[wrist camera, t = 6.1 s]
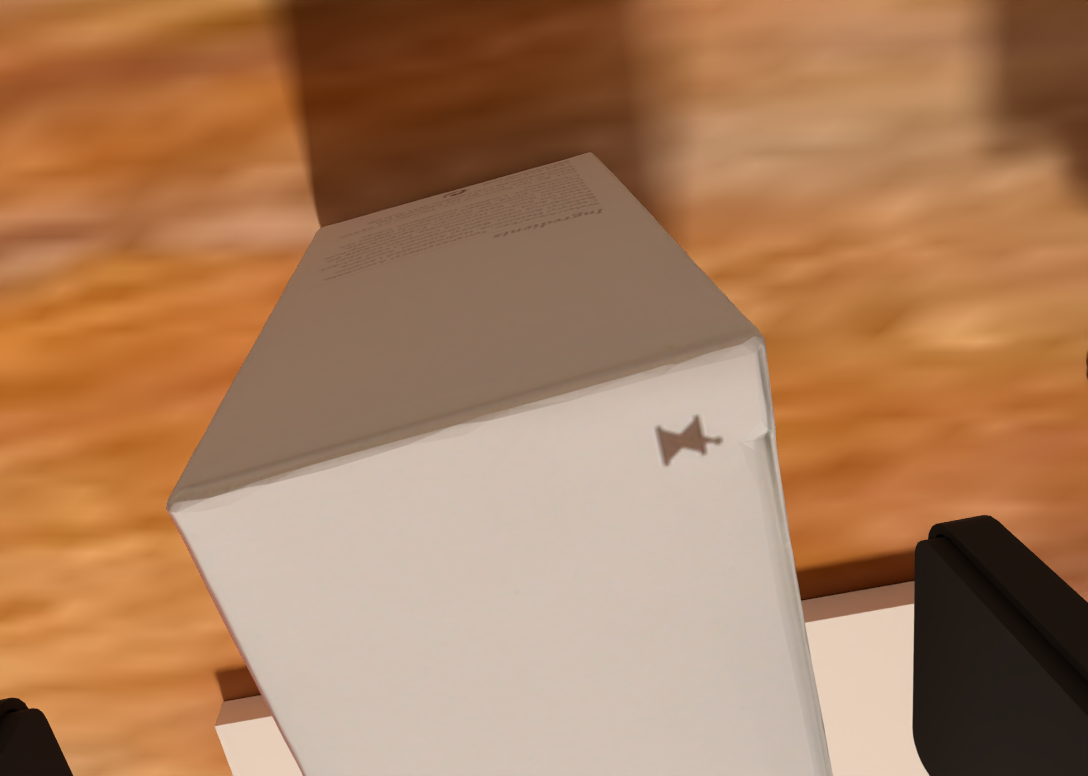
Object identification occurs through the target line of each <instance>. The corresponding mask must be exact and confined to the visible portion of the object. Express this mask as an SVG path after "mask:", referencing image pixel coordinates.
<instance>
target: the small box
mask: <svg viewBox="0 0 1088 776" xmlns="http://www.w3.org/2000/svg"><path fill="white" fill-rule="evenodd" d="M166 509H167V511H168V513H169V515H170V516H171V518H172V520H173V522H174V524H175V526H176V528H177V529H178V531H179V533H180V535H181V537H182V539H183V541H184V543H185V544H186V546H187V548H188V550H189V553H190V555H191V557H192V559H193V561H194V563H195V565H196V567H197V569H198V571H199V573H200V575H201V577H202V579H203V581H204V583H205V585H206V587H207V589H208V591H209V593H210V595H211V597H212V599H213V601H214V603H215V605H216V607H217V609H218V611H219V613H220V615H221V617H222V619H223V621H224V623H225V625H226V627H227V629H228V631H229V633H230V635H231V637H232V639H233V641H234V643H235V645H236V647H237V648H238V650H239V652H240V654H241V656H242V658H243V660H244V662H245V664H246V666H247V668H248V670H249V672H250V674H251V676H252V678H253V680H254V682H255V684H256V685H257V687H258V689H259V691H260V693H261V695H262V697H263V699H264V701H265V703H266V705H267V707H268V709H269V711H270V713H271V715H272V717H273V719H274V721H275V723H276V725H277V727H278V729H279V731H280V733H281V735H282V737H283V739H284V740H285V742H286V744H287V746H288V748H289V750H290V752H291V754H292V755H293V757H294V759H295V761H296V763H297V765H298V767H299V769H300V771H301V773H302V775H303V776H833V773H832V768H831V762H830V757H829V752H828V746H827V740H826V734H825V729H824V723H823V718H822V713H821V707H820V702H819V697H818V692H817V687H816V681H815V676H814V671H813V666H812V660H811V655H810V649H809V643H808V637H807V631H806V626H805V621H804V615H803V609H802V603H801V597H800V591H799V585H798V579H797V574H796V568H795V562H794V556H793V551H792V545H791V540H790V534H789V527H788V520H787V513H786V507H785V500H784V493H783V487H782V481H781V475H780V469H779V461H778V453H777V444H776V432H775V420H774V412H773V404H772V396H771V388H770V380H769V372H768V363H767V355H766V345H765V338H764V337H763V336H762V334H761V333H760V332H759V330H758V329H757V328H756V327H755V326H754V325H753V324H752V323H751V322H750V321H749V320H748V319H747V318H746V317H745V316H744V315H743V314H742V313H741V312H740V311H739V310H738V309H737V308H736V306H735V305H734V304H733V303H732V302H731V301H730V300H729V299H728V297H727V296H726V295H725V294H724V293H723V292H722V291H721V290H720V289H719V288H718V287H717V286H716V285H715V284H714V283H713V282H712V281H711V279H710V278H709V277H708V276H707V275H706V274H705V273H704V272H703V271H702V270H701V269H700V268H699V267H698V266H697V265H696V264H695V263H694V261H693V260H692V259H691V258H690V257H689V256H688V254H687V253H686V252H685V251H684V250H683V249H682V248H681V247H680V246H679V245H678V243H677V242H676V241H675V240H674V239H673V238H672V237H671V236H670V235H669V234H668V233H667V231H666V230H665V229H664V228H663V227H662V226H661V225H660V224H659V223H658V221H657V220H656V219H655V218H654V217H653V216H652V215H651V214H650V213H649V211H648V210H647V209H646V208H645V207H644V206H643V205H642V204H641V203H640V202H639V201H638V199H637V198H635V197H634V196H633V195H632V193H631V192H630V191H629V190H628V189H627V188H626V187H625V186H624V185H623V183H622V182H620V180H619V179H618V178H617V177H616V176H615V175H614V174H613V173H612V172H611V171H610V170H609V169H608V168H607V167H606V166H605V165H604V164H603V163H602V162H601V161H600V160H599V158H598V157H597V156H596V155H594V154H593V153H592V152H588V153H585V154H581V155H578V156H575V157H571V158H568V159H565V160H561V161H558V162H554V163H550V164H547V165H543V166H539V167H536V168H532V169H528V170H525V171H521V172H518V173H514V174H511V175H507V176H503V177H500V178H496V179H493V180H489V181H486V182H482V183H478V184H475V185H471V186H468V187H464V188H460V189H457V190H453V191H450V192H446V193H442V194H439V195H435V196H431V197H428V198H424V199H421V200H417V201H413V202H410V203H406V204H403V205H399V206H396V207H392V208H389V209H385V210H381V211H378V212H375V213H371V214H368V215H364V216H361V217H357V218H354V219H350V220H347V221H343V222H340V223H336V224H332V225H328V226H324V227H322V228H320V229H319V230H318V231H317V233H316V234H315V236H314V238H313V240H312V242H311V244H310V245H309V247H308V249H307V250H306V252H305V254H304V256H303V258H302V259H301V261H300V263H299V264H298V266H297V269H296V270H295V272H294V274H293V275H292V277H291V278H290V280H289V282H288V283H287V286H286V288H285V290H284V292H283V294H282V295H281V297H280V299H279V301H278V302H277V304H276V306H275V308H274V310H273V311H272V313H271V315H270V316H269V318H268V320H267V322H266V323H265V325H264V327H263V329H262V331H261V333H260V335H259V336H258V338H257V340H256V342H255V344H254V346H253V347H252V349H251V351H250V352H249V354H248V356H247V358H246V359H245V361H244V363H243V365H242V367H241V368H240V370H239V372H238V374H237V375H236V377H235V379H234V381H233V382H232V384H231V386H230V388H229V390H228V392H227V393H226V395H225V397H224V399H223V401H222V402H221V404H220V406H219V408H218V409H217V411H216V413H215V415H214V417H213V419H212V420H211V422H210V424H209V426H208V428H207V430H206V432H205V434H204V436H203V438H202V439H201V441H200V442H199V444H198V446H197V447H196V449H195V451H194V453H193V455H192V456H191V458H190V460H189V462H188V464H187V466H186V468H185V470H184V472H183V473H182V475H181V477H180V479H179V481H178V482H177V484H176V486H175V488H174V490H173V491H172V493H171V495H170V497H169V499H168V502H167V507H166Z"/></svg>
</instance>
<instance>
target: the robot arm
mask: <svg viewBox="0 0 1088 776" xmlns="http://www.w3.org/2000/svg"><path fill="white" fill-rule="evenodd" d="M912 731H913V739H914V744H915V747H916V750H917V753H918V756H919V758H920V760H921V762H922V764H923V766H924V768H925V770H926V771H927V773H928V774H929V776H1088V602H1087V601H1085V600H1084V599H1083V598H1082V597H1081V596H1080V595H1079V594H1078V593H1077V592H1076V591H1074V590H1073V589H1072V588H1071V587H1070V586H1069V585H1068V584H1067V583H1066V582H1065V581H1063V580H1062V579H1061V578H1060V577H1059V576H1058V575H1057V574H1056V573H1055V572H1054V571H1052V570H1051V569H1050V568H1049V567H1048V566H1047V565H1046V564H1045V563H1044V562H1043V561H1041V560H1040V559H1039V558H1038V557H1037V556H1036V555H1035V554H1034V553H1033V552H1032V551H1030V550H1029V549H1028V548H1027V547H1026V546H1025V545H1024V544H1023V543H1022V542H1021V541H1019V540H1018V539H1017V538H1016V537H1015V536H1014V535H1013V534H1012V533H1011V532H1010V531H1008V530H1007V529H1006V528H1005V527H1004V526H1003V525H1002V524H1001V523H1000V522H999V521H997V520H996V519H994V518H993V517H991V516H988V515H981V516H976V517H971V518H965V519H960V520H955V521H949V522H944V523H939V524H936V525H934V526H932V528H931V530H930V532H929V537H928V540H923V541H920V542H918V544H917V546H916V550H915V585H914V652H913V718H912ZM0 776H73V774H72V772H71V770H70V768H69V766H68V764H67V762H66V759H65V757H64V755H63V753H62V751H61V749H60V747H59V744H58V742H57V740H56V738H55V736H54V734H53V731H52V729H51V727H50V725H49V723H48V721H47V719H46V717H45V715H44V714H43V712H41V711H40V710H39V709H34V708H32V709H28V707H27V706H26V704H25V703H24V702H23V701H21V700H20V699H18V698H7V699H2V700H0Z"/></svg>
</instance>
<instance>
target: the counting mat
mask: <svg viewBox="0 0 1088 776" xmlns="http://www.w3.org/2000/svg"><path fill="white" fill-rule="evenodd" d="M914 585H915V581H911V582H906V583H900V584H894V585H888V586H883V587H877V588H871V589H865V590H860V591H854V592H848V593H843V594H837V595H831V596H825V597H820V598H814V599H808V600H802V601H801V603H802V609H803V615H804V621H805V626H806V631H807V637H808V643H809V649H810V655H811V660H812V666H813V671H814V676H815V681H816V687H817V692H818V697H819V702H820V707H821V713H822V718H823V723H824V729H825V734H826V740H827V746H828V752H829V757H830V762H831V768H832V773H833V776H929V774H928V773H927V771H926V770H925V768H924V766H923V764H922V762H921V760H920V758H919V756H918V753H917V750H916V747H915V744H914V739H913V731H912V718H913V652H914ZM215 728H216V731H217V733H218V736H219V739H220V741H221V744H222V747H223V750H224V752H225V755H226V758H227V760H228V763H229V766H230V768H231V771H232V774H233V776H303V775H302V773H301V771H300V769H299V767H298V765H297V763H296V761H295V759H294V757H293V755H292V754H291V752H290V750H289V748H288V746H287V744H286V742H285V740H284V739H283V737H282V735H281V733H280V731H279V729H278V727H277V725H276V723H275V721H274V719H273V717H272V715H271V713H270V711H269V709H268V707H267V705H266V703H265V701H264V699H263V697H262V695H259V696H253V697H247V698H242V699H236V700H230V701H224V702H223V704H222V707H221V710H220V713H219V716H218V718H217V721H216V724H215Z"/></svg>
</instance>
